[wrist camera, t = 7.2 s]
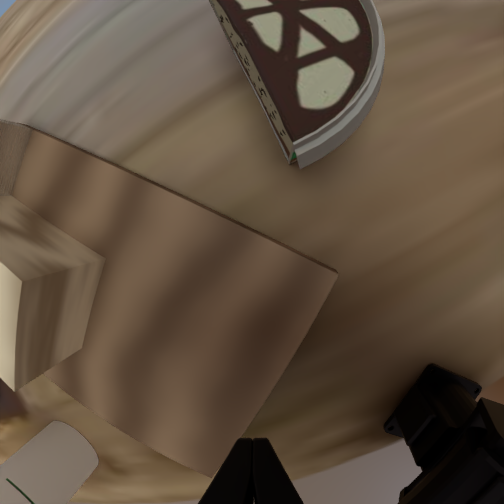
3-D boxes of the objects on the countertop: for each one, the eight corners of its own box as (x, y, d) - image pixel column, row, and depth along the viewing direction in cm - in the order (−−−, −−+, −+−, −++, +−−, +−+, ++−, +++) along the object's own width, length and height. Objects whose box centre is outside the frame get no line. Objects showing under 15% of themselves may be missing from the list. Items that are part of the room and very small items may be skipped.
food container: (385, 152, 18) (455, 104, 8) (298, 186, 19) (300, 160, 9) (302, 8, 17) (298, -90, 8) (224, 36, 19) (179, -55, 9)
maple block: (105, 258, 20) (22, 281, 12) (81, 348, 21) (14, 391, 14) (11, 195, 21) (-60, 196, 13) (-4, 276, 22) (-67, 292, 14)
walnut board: (335, 270, 19) (339, 274, 18) (215, 466, 23) (211, 477, 21) (27, 125, 22) (16, 122, 20) (-12, 307, 25) (-21, 310, 24)
